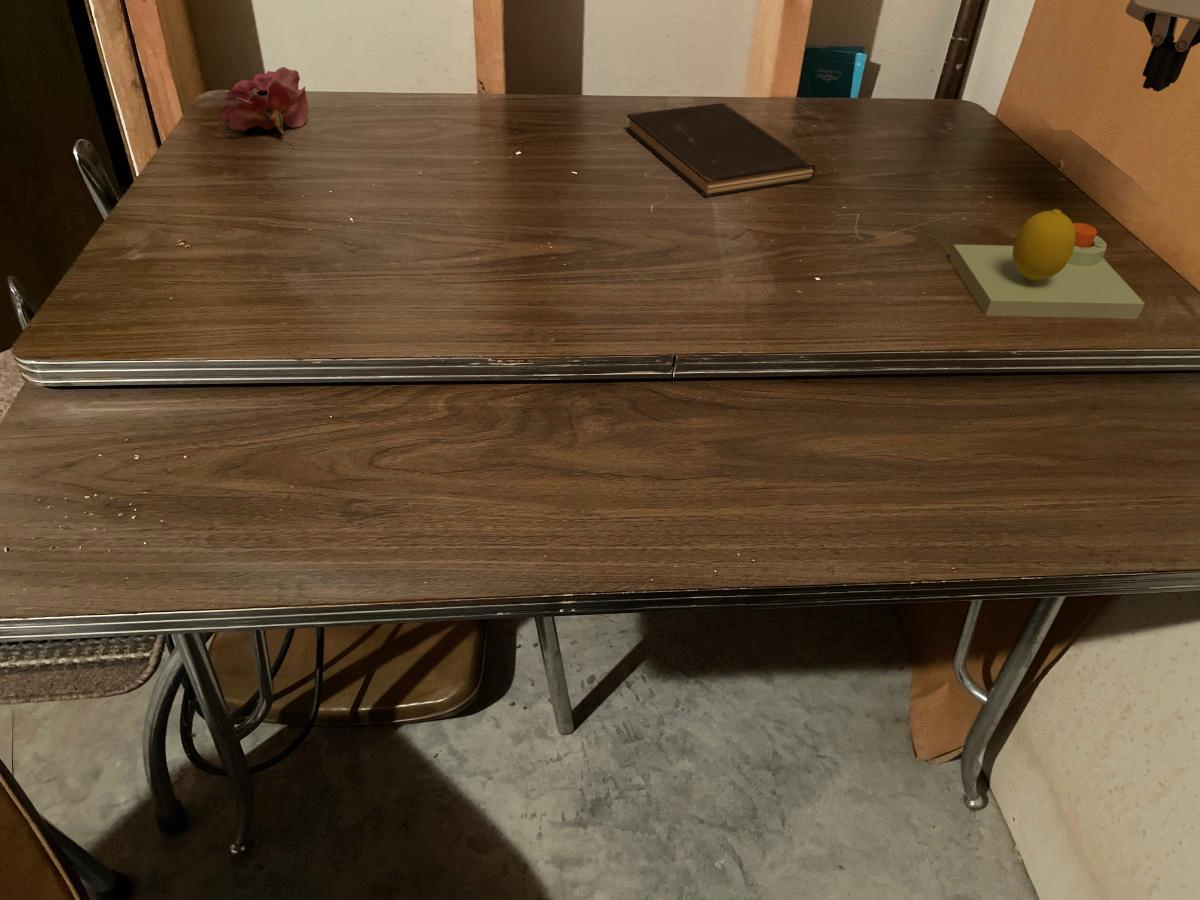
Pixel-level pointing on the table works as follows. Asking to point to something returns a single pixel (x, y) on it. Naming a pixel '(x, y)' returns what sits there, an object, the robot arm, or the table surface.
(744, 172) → the hardcover book
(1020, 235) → the lemon
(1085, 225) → the button
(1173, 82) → the robot arm
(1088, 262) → the scale
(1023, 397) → the table surface
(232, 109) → the flower
